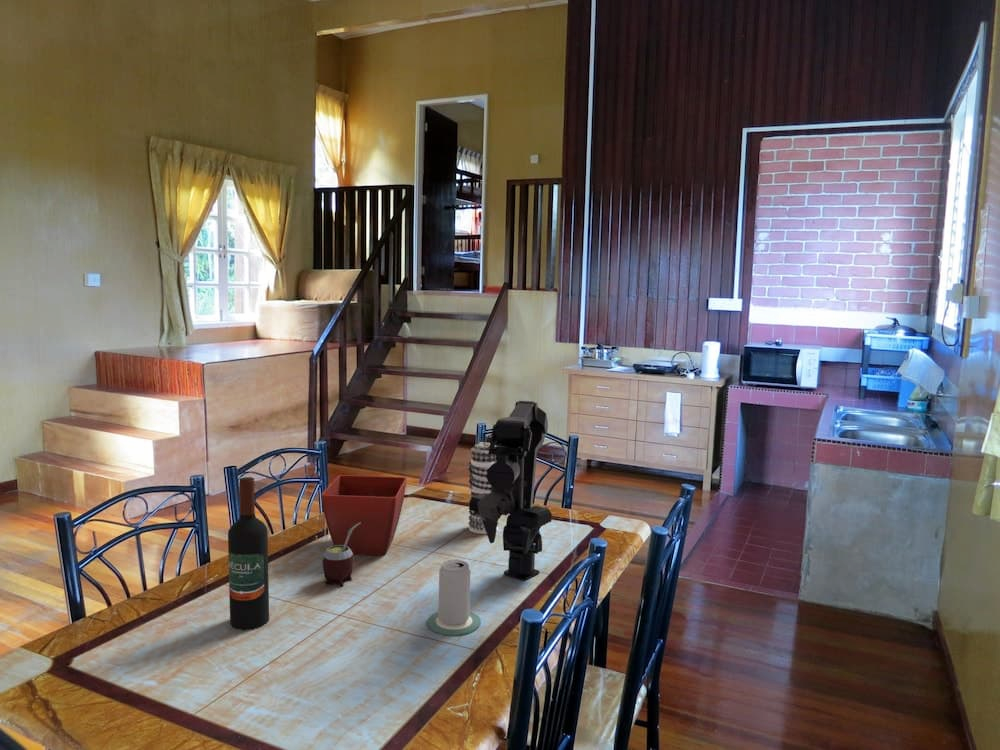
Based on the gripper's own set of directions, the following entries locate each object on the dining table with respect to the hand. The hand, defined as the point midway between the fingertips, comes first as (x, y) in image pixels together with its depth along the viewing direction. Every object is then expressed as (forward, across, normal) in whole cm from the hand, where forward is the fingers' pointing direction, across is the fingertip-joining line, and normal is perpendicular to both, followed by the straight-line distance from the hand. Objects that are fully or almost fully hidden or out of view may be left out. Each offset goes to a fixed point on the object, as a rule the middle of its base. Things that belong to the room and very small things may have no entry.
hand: (508, 547), depth 156 cm
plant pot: (+13, -50, +3) cm, 52 cm away
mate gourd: (+13, -37, -16) cm, 42 cm away
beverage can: (+13, -3, -14) cm, 19 cm away
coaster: (+13, -3, -14) cm, 19 cm away
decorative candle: (+13, -36, +35) cm, 52 cm away
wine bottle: (+13, -35, -41) cm, 56 cm away
